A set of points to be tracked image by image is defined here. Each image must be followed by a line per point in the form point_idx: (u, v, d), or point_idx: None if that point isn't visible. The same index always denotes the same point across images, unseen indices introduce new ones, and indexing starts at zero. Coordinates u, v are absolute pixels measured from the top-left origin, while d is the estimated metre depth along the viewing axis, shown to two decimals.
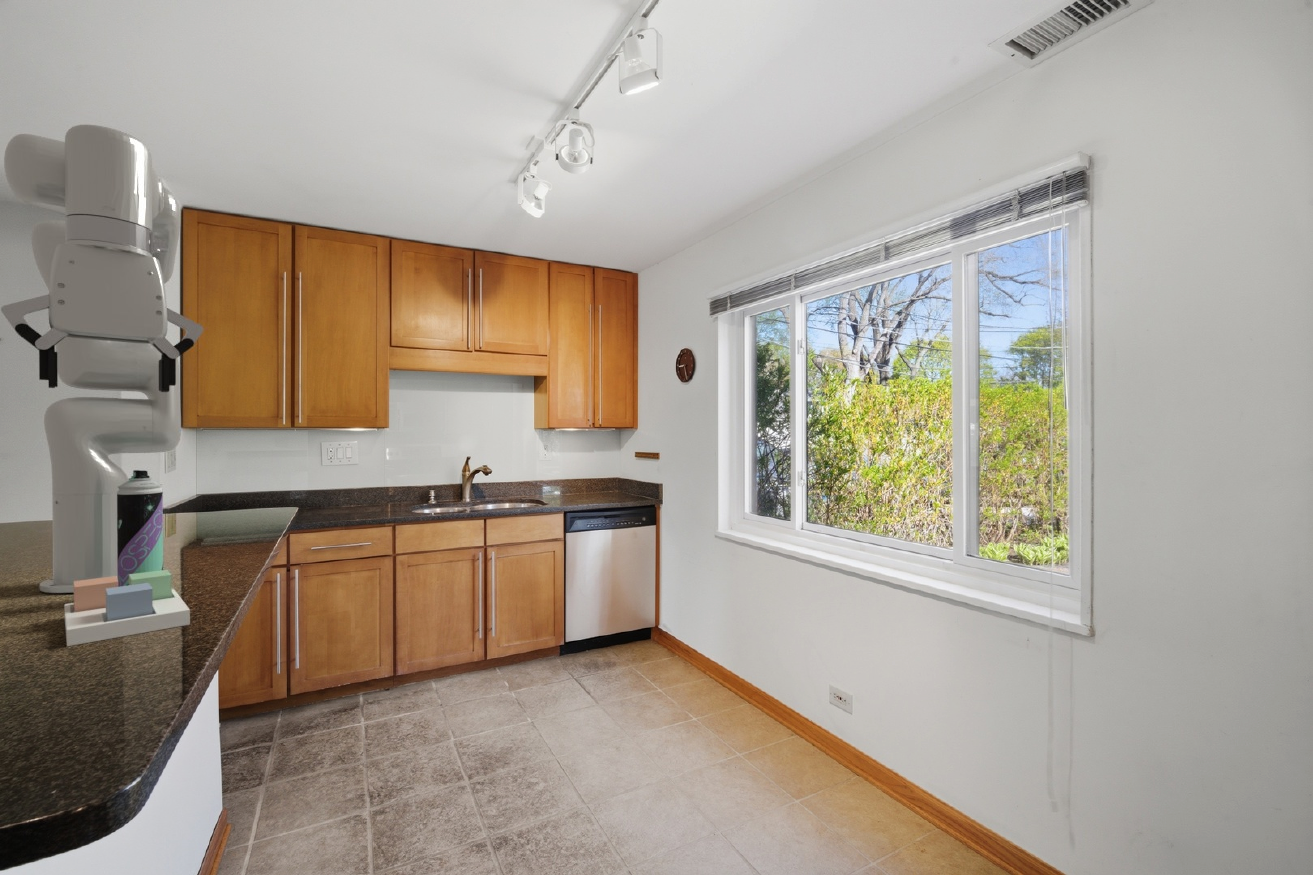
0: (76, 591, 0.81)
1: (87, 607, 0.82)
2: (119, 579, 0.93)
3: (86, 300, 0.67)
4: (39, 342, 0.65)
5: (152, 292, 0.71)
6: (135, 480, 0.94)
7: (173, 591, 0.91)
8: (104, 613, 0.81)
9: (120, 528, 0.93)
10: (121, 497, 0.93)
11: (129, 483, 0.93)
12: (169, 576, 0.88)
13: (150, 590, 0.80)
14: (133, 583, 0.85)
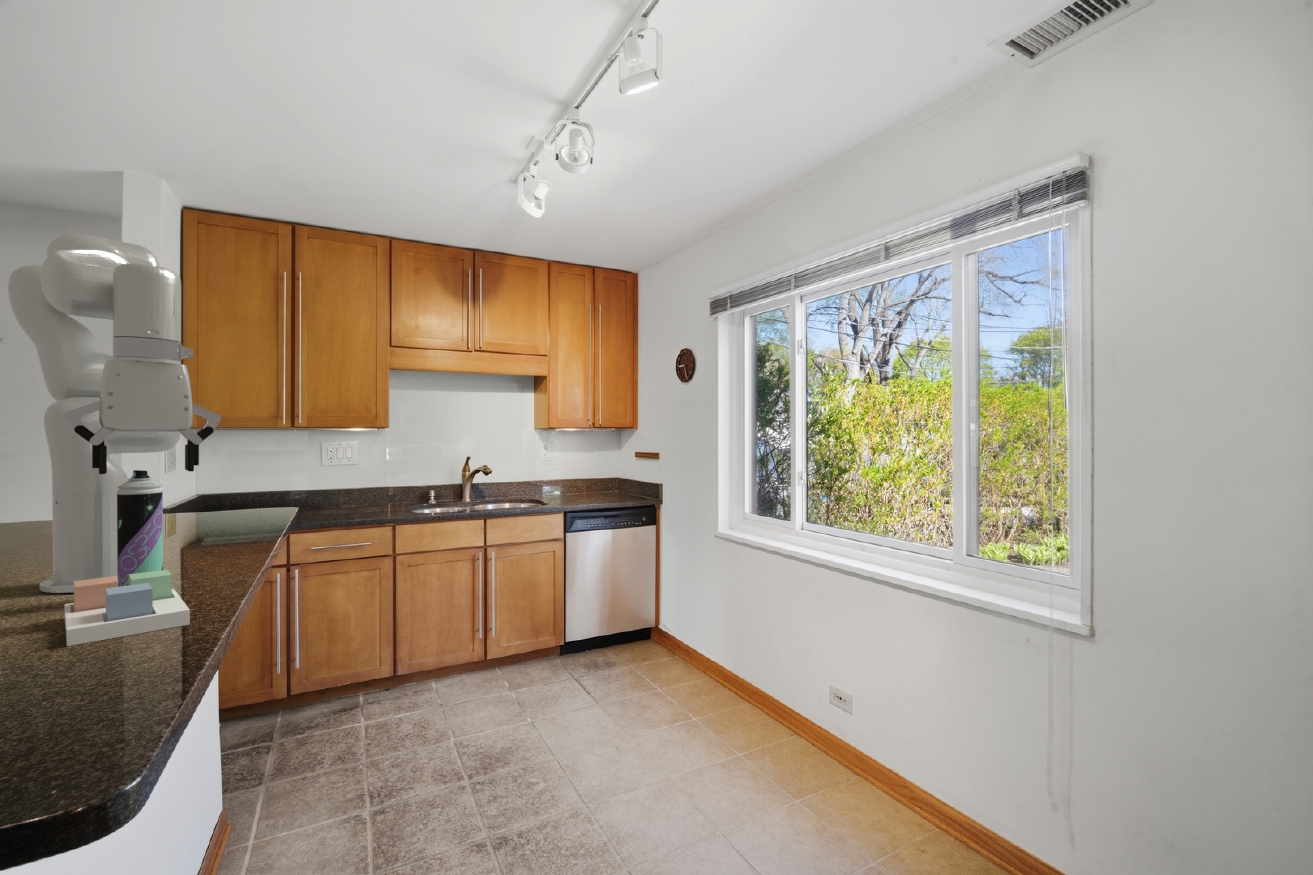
0: (76, 591, 0.81)
1: (87, 607, 0.82)
2: (119, 579, 0.93)
3: (129, 403, 0.84)
4: (93, 439, 0.82)
5: (181, 393, 0.88)
6: (135, 480, 0.94)
7: (173, 591, 0.91)
8: (104, 613, 0.81)
9: (120, 528, 0.93)
10: (121, 497, 0.93)
11: (129, 483, 0.93)
12: (169, 576, 0.88)
13: (150, 590, 0.80)
14: (133, 583, 0.85)
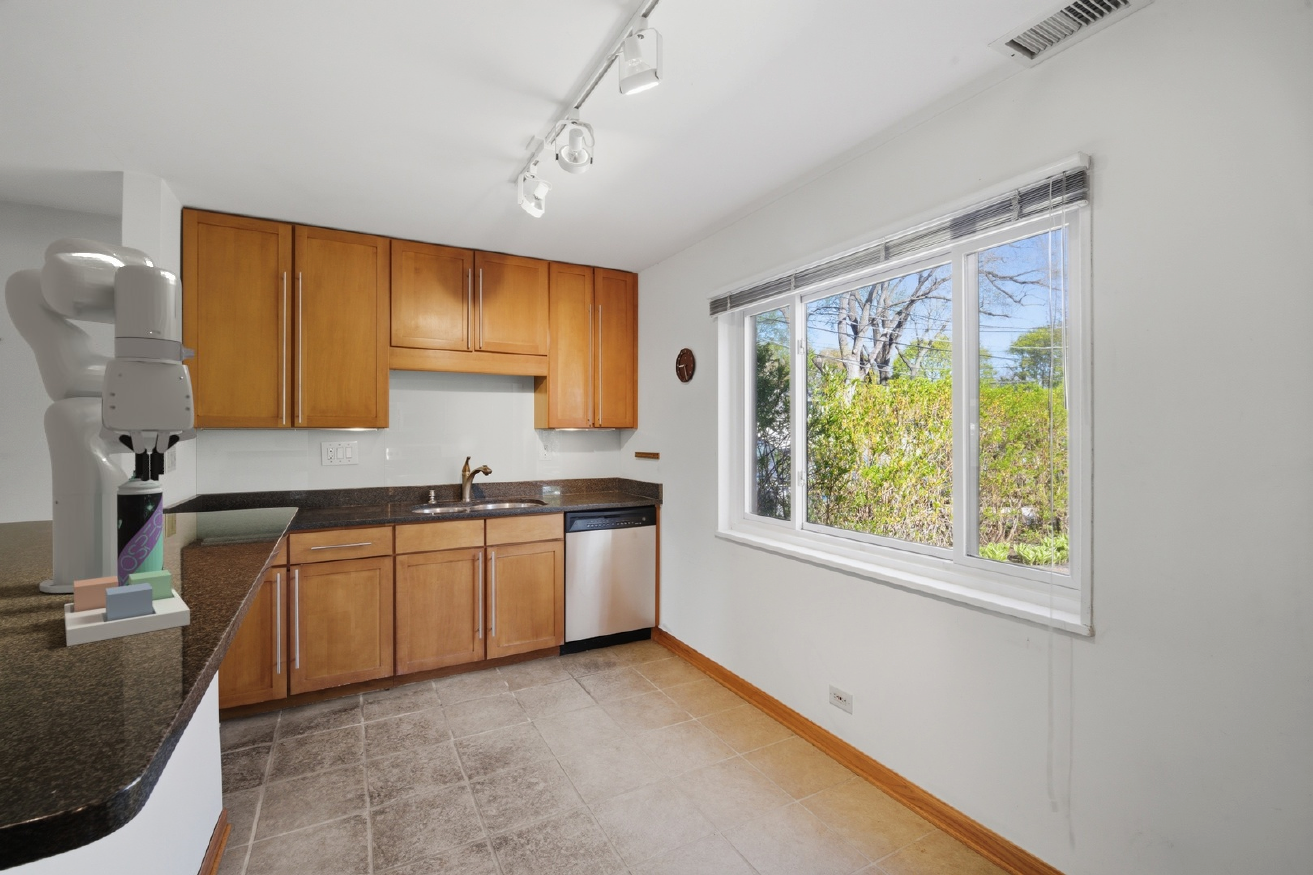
0: (76, 591, 0.81)
1: (87, 607, 0.82)
2: (119, 579, 0.93)
3: (132, 404, 0.85)
4: (136, 450, 0.86)
5: (182, 393, 0.89)
6: (135, 480, 0.94)
7: (173, 591, 0.91)
8: (104, 613, 0.81)
9: (120, 528, 0.93)
10: (121, 497, 0.93)
11: (129, 483, 0.93)
12: (169, 576, 0.88)
13: (150, 590, 0.80)
14: (133, 583, 0.85)
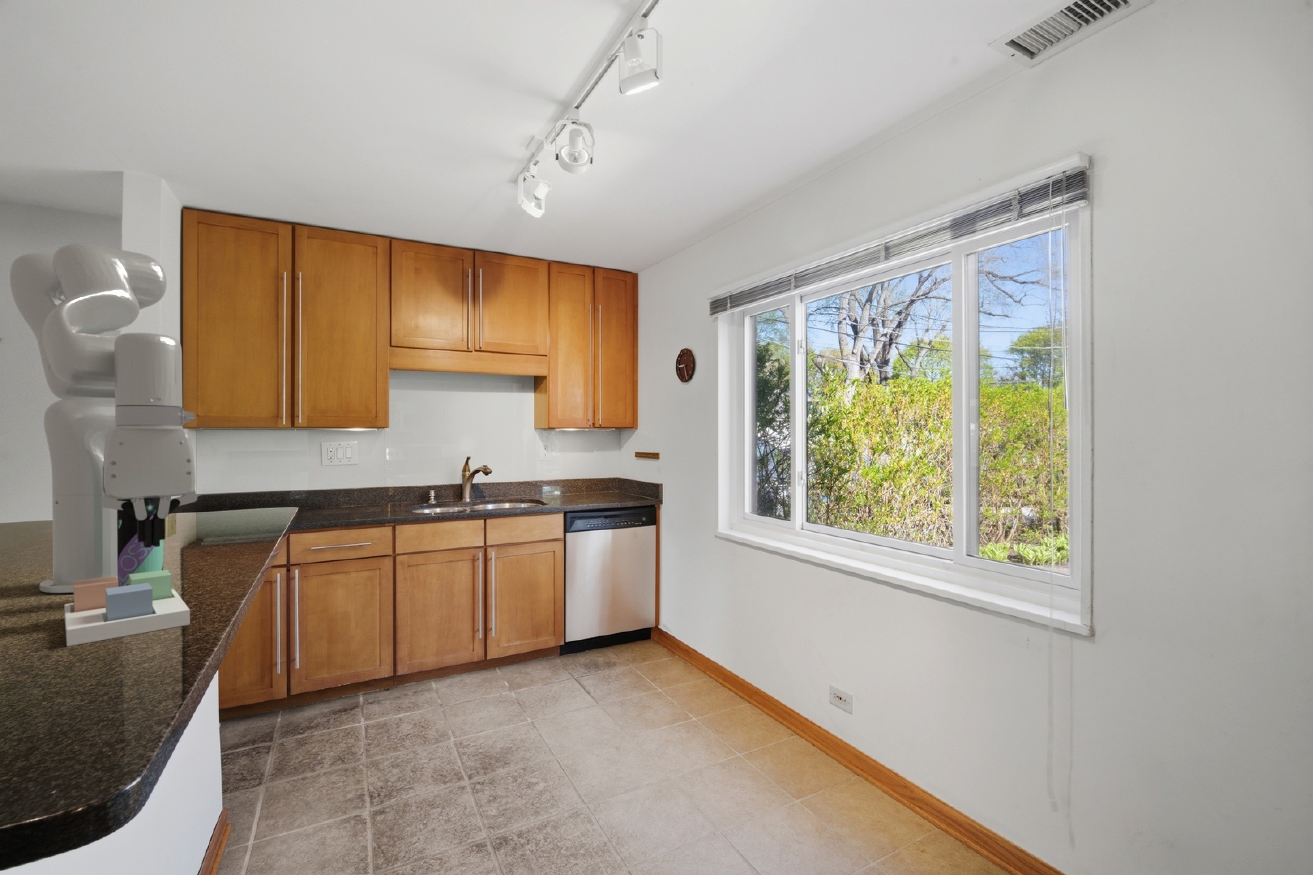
0: (76, 591, 0.81)
1: (87, 607, 0.82)
2: (119, 579, 0.93)
3: (133, 471, 0.85)
4: (138, 516, 0.86)
5: (183, 457, 0.89)
6: None
7: (173, 591, 0.91)
8: (104, 613, 0.81)
9: (120, 528, 0.93)
10: None
11: None
12: (169, 576, 0.88)
13: (150, 590, 0.80)
14: (133, 583, 0.85)
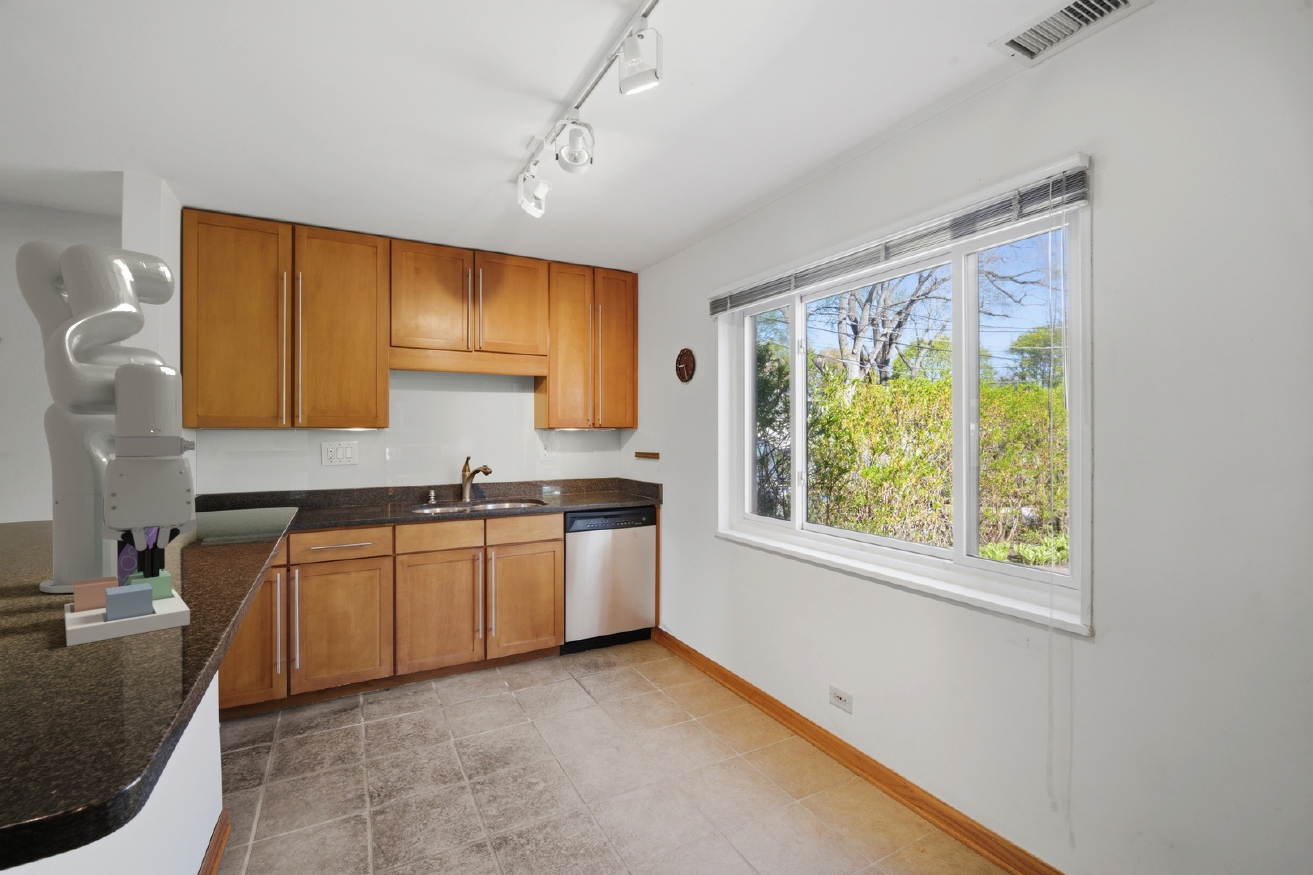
0: (76, 591, 0.81)
1: (87, 607, 0.82)
2: (119, 579, 0.93)
3: (133, 502, 0.85)
4: (138, 547, 0.86)
5: (183, 487, 0.89)
6: None
7: (173, 591, 0.91)
8: (104, 613, 0.81)
9: None
10: None
11: None
12: (169, 577, 0.88)
13: (150, 590, 0.80)
14: (133, 584, 0.85)
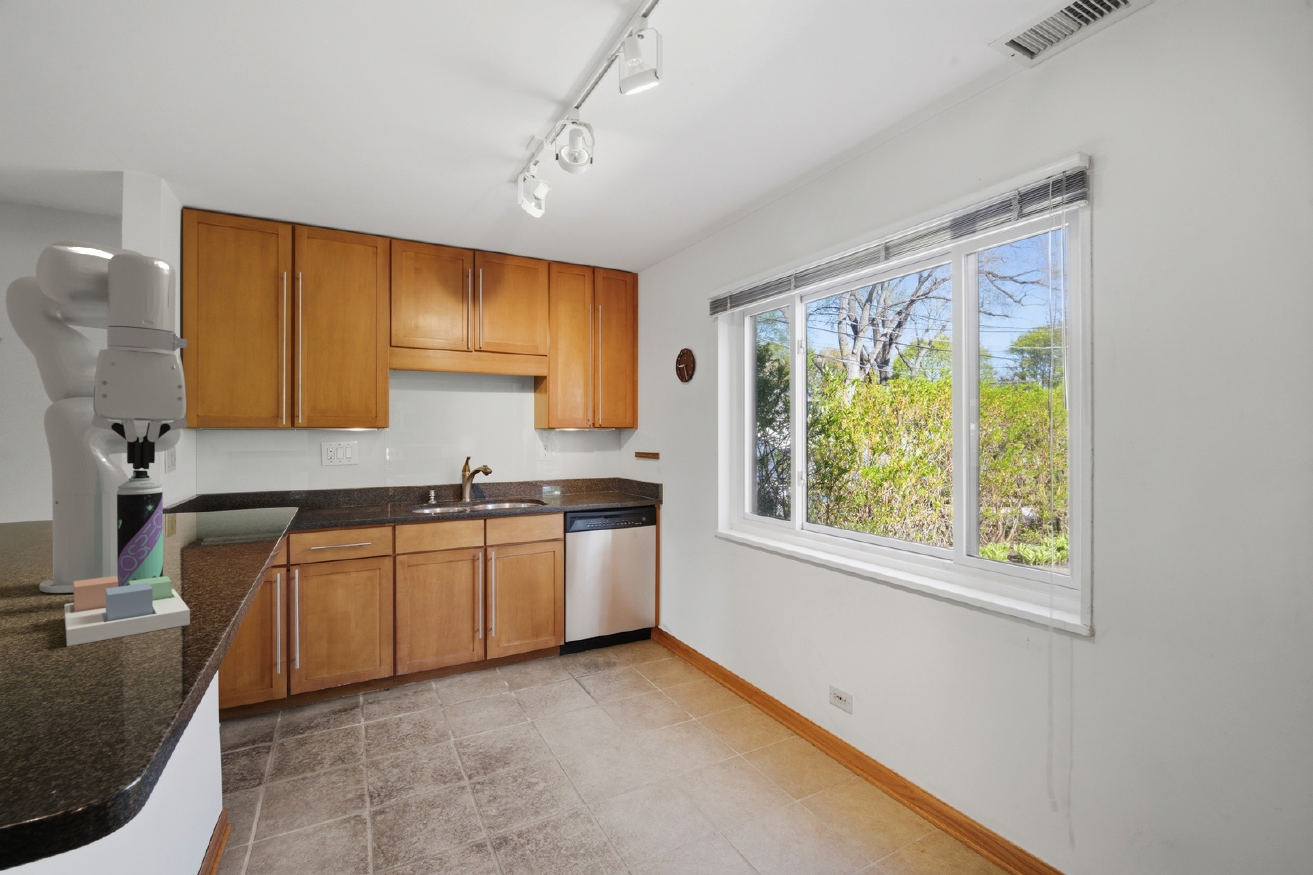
0: (76, 591, 0.81)
1: (87, 607, 0.82)
2: (119, 579, 0.93)
3: (124, 392, 0.85)
4: (128, 438, 0.87)
5: (175, 383, 0.89)
6: (135, 480, 0.94)
7: (173, 591, 0.91)
8: (104, 613, 0.81)
9: (120, 528, 0.93)
10: (121, 497, 0.93)
11: (129, 483, 0.93)
12: (169, 583, 0.88)
13: (150, 590, 0.80)
14: None
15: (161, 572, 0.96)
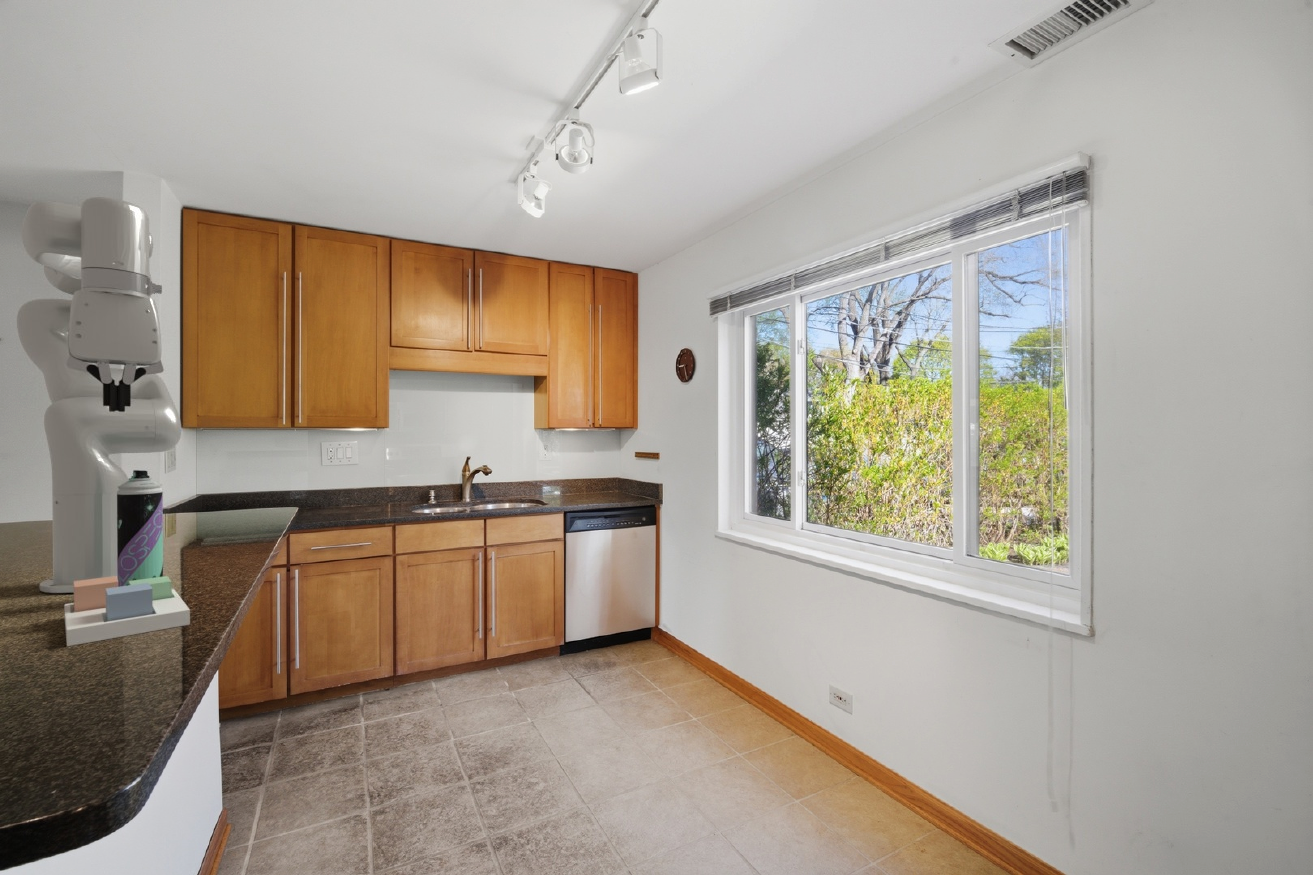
0: (76, 591, 0.81)
1: (87, 607, 0.82)
2: (119, 579, 0.93)
3: (98, 333, 0.86)
4: (103, 380, 0.88)
5: (149, 326, 0.90)
6: (135, 480, 0.94)
7: (173, 591, 0.91)
8: (104, 613, 0.81)
9: (120, 528, 0.93)
10: (121, 497, 0.93)
11: (129, 483, 0.93)
12: (169, 583, 0.88)
13: (150, 590, 0.80)
14: None
15: (161, 572, 0.96)
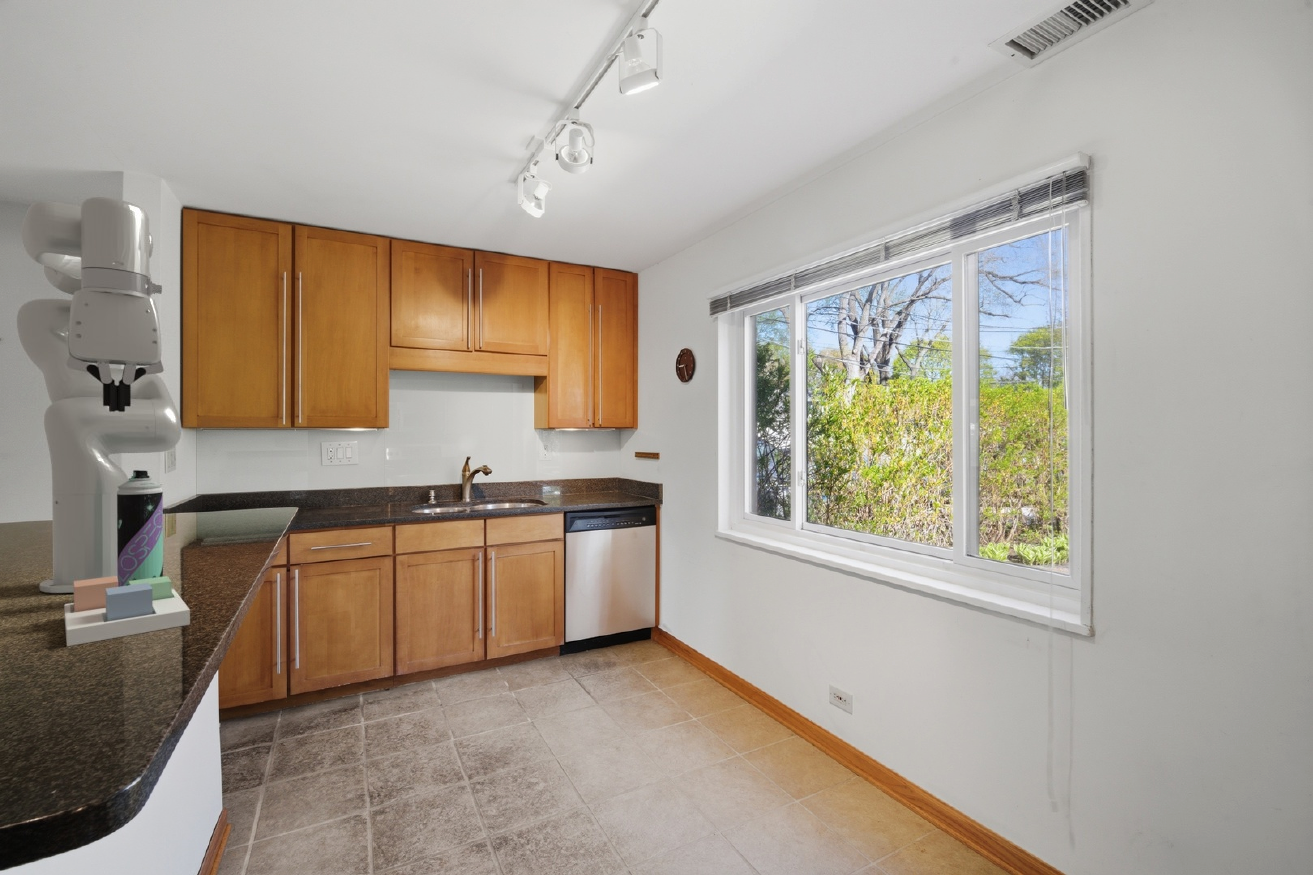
0: (76, 591, 0.81)
1: (87, 607, 0.82)
2: (119, 579, 0.93)
3: (98, 333, 0.86)
4: (103, 380, 0.88)
5: (149, 326, 0.90)
6: (135, 480, 0.94)
7: (173, 591, 0.91)
8: (104, 613, 0.81)
9: (120, 528, 0.93)
10: (121, 497, 0.93)
11: (129, 483, 0.93)
12: (169, 583, 0.88)
13: (150, 590, 0.80)
14: None
15: (161, 572, 0.96)
